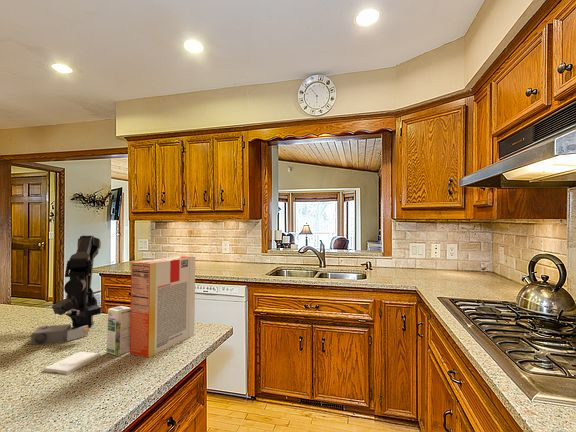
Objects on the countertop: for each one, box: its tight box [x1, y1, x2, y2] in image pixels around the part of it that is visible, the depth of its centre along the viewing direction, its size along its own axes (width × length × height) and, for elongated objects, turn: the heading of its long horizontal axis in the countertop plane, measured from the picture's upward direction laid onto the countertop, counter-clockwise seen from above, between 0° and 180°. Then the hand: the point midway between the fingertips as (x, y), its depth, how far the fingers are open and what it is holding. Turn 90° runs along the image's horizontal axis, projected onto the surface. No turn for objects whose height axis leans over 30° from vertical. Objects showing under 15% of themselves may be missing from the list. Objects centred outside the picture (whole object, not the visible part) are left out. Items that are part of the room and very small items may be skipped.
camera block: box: [30, 323, 72, 346], centre depth 120 cm, size 10×9×5 cm
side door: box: [63, 325, 90, 343], centre depth 121 cm, size 2×9×4 cm, turn 154°
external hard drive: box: [43, 351, 101, 375], centre depth 100 cm, size 2×8×12 cm
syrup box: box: [106, 305, 131, 357], centre depth 110 cm, size 6×6×14 cm
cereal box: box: [129, 255, 196, 358], centre depth 118 cm, size 23×8×30 cm, turn 158°
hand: (77, 331), depth 124 cm, fingers closed
